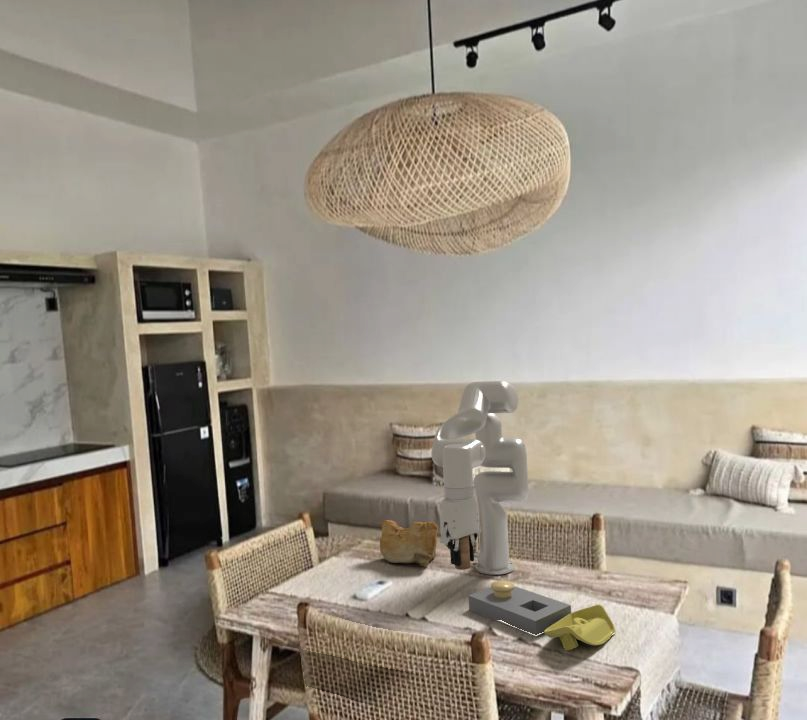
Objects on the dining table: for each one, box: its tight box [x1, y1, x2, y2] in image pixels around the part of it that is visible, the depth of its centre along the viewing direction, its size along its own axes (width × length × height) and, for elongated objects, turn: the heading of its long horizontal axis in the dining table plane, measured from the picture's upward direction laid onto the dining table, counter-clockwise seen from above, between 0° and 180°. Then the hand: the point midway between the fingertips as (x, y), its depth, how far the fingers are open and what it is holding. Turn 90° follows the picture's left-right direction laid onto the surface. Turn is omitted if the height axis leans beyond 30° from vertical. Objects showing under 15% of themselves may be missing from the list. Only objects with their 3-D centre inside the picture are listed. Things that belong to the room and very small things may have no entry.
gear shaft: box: [454, 536, 472, 571], centre depth 173 cm, size 4×4×8 cm
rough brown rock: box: [379, 519, 439, 568], centre depth 229 cm, size 23×17×15 cm
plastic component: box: [544, 604, 616, 652], centre depth 163 cm, size 20×7×10 cm
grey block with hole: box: [467, 580, 572, 635], centre depth 180 cm, size 24×14×7 cm, turn 38°
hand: (462, 561), depth 173 cm, fingers closed on gear shaft, 4 cm apart
